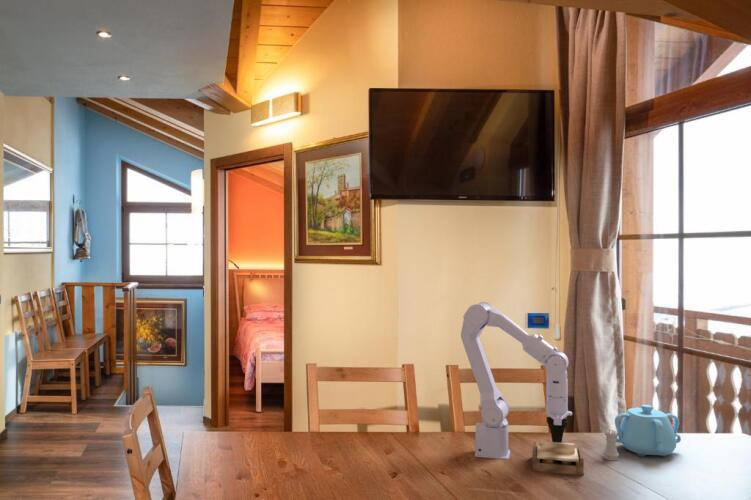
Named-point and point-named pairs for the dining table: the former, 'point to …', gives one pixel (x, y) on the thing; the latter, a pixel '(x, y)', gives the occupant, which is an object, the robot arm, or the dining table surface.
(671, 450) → the decorative pot
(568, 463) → the ball
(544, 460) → the ball
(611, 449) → the rook chess piece
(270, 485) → the dining table surface
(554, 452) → the lid
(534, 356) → the robot arm
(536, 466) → the box
